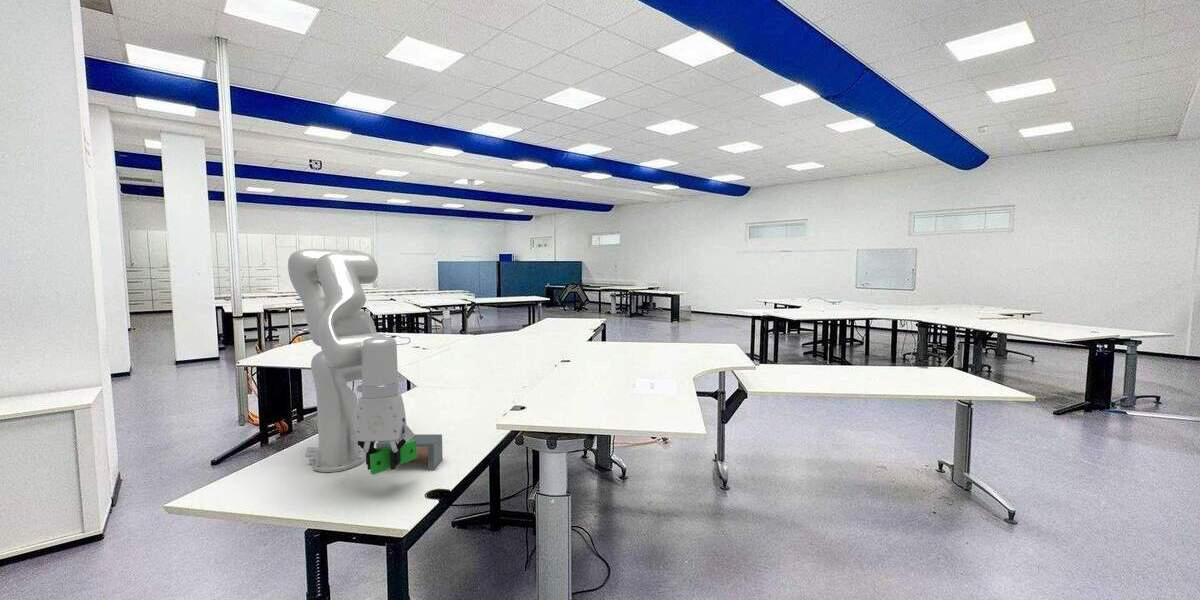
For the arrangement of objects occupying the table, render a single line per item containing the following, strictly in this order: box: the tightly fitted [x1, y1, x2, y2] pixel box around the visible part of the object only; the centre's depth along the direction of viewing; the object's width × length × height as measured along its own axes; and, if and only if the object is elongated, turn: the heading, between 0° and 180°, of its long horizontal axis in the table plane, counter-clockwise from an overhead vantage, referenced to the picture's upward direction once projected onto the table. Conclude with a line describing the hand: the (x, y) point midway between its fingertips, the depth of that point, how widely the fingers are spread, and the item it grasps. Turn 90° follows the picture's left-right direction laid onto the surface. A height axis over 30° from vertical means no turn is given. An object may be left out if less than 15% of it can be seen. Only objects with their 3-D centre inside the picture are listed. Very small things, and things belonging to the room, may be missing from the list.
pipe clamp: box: [369, 440, 417, 475], centre depth 110 cm, size 11×4×5 cm, turn 146°
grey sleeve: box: [375, 433, 444, 472], centre depth 124 cm, size 15×7×7 cm, turn 91°
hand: (383, 466), depth 108 cm, fingers closed on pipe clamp, 4 cm apart
